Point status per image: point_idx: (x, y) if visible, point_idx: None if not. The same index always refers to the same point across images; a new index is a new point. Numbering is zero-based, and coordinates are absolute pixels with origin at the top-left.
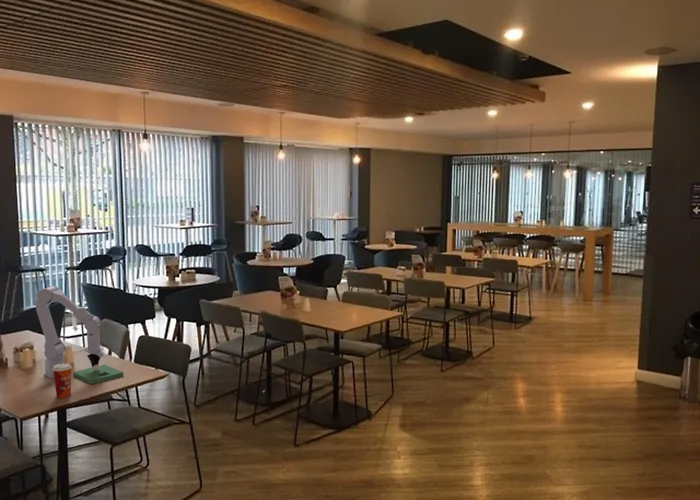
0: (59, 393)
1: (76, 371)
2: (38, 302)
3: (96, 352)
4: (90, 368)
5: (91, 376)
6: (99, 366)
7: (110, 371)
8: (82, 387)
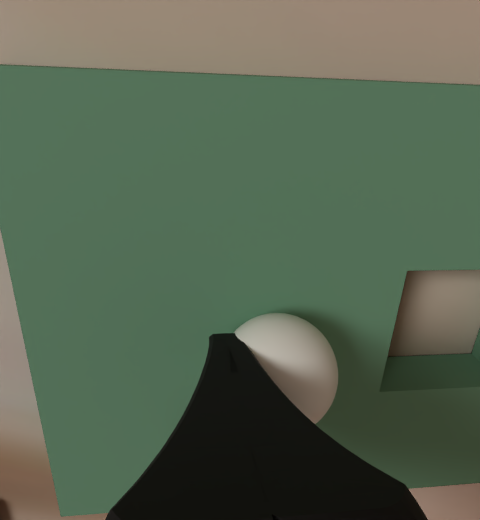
0: None
1: (64, 490)
2: None
3: None
4: (57, 344)
5: (402, 443)
6: (329, 359)
7: (454, 214)
8: (467, 503)
